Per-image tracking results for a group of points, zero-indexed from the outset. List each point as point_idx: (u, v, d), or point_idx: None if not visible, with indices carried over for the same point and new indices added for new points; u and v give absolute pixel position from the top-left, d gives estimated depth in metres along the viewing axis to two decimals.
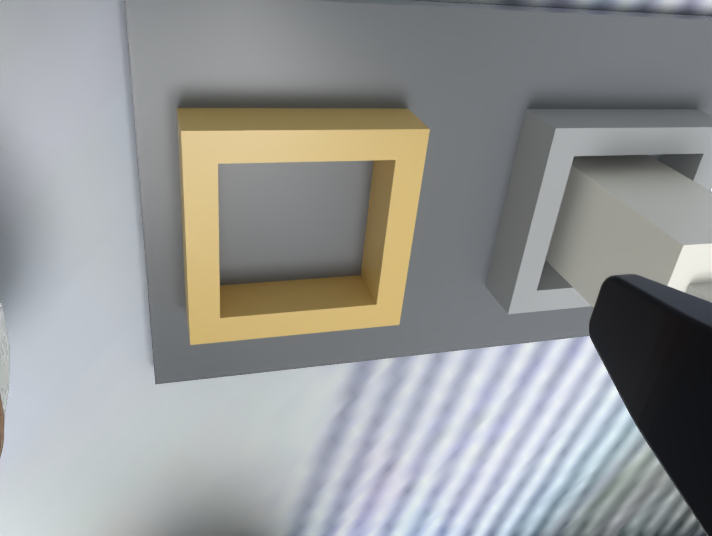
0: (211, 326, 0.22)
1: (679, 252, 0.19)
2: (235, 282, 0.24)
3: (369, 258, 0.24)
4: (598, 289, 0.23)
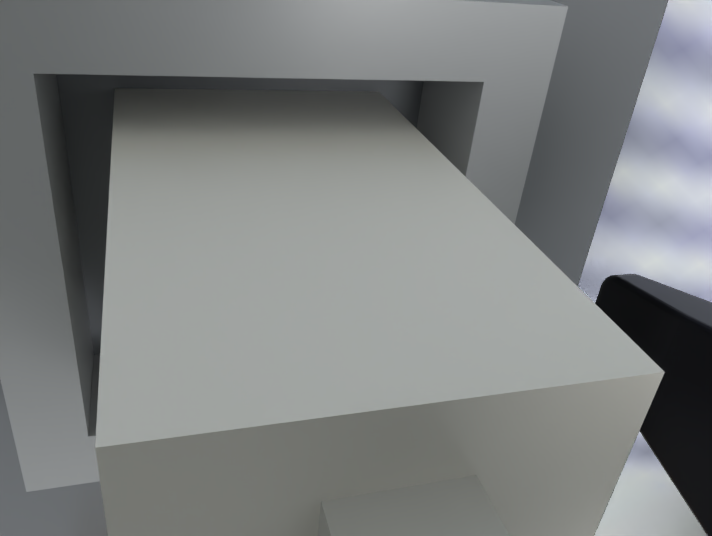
0: None
1: None
2: None
3: None
4: None
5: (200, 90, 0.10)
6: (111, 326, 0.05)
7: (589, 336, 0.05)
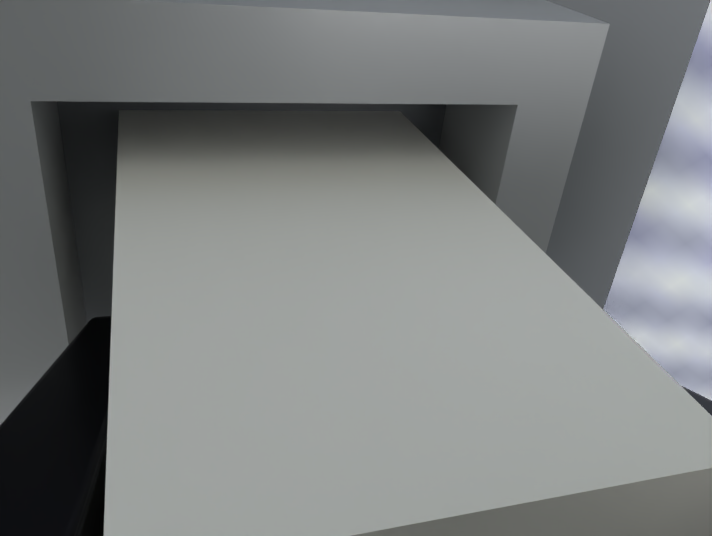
0: None
1: None
2: None
3: None
4: None
5: (211, 111, 0.09)
6: (119, 410, 0.04)
7: (664, 413, 0.05)
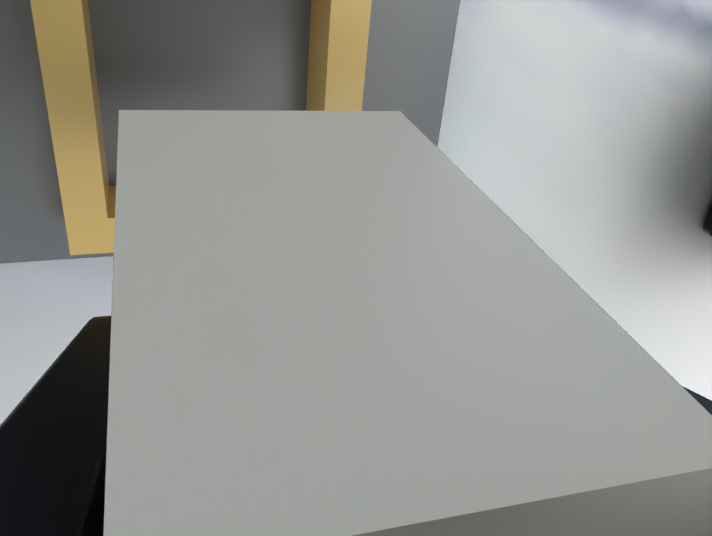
0: None
1: None
2: None
3: None
4: None
5: (210, 111, 0.09)
6: (119, 409, 0.04)
7: (664, 412, 0.05)
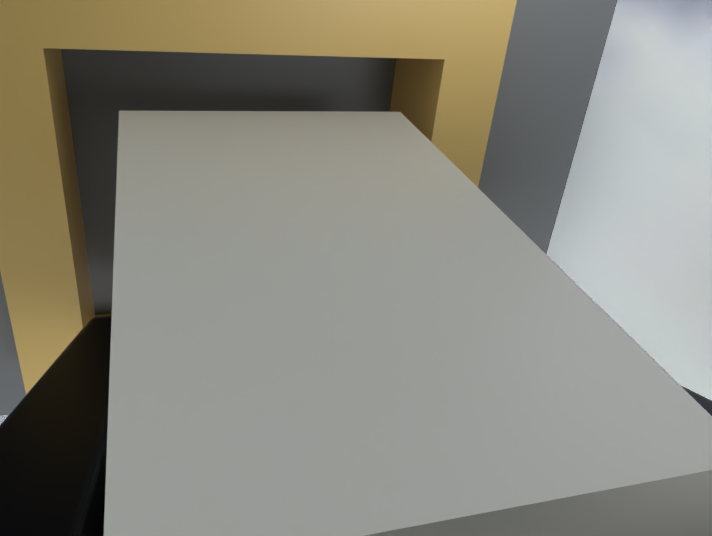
0: None
1: None
2: None
3: None
4: None
5: (210, 112, 0.09)
6: (119, 411, 0.04)
7: (665, 414, 0.05)
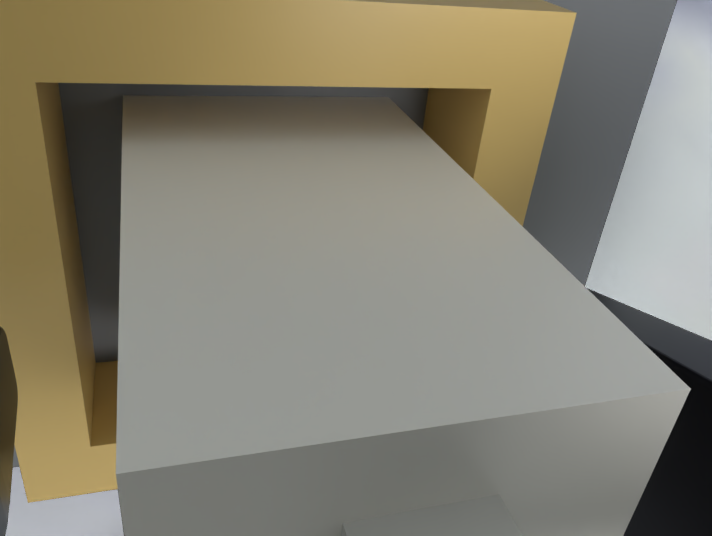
0: None
1: None
2: None
3: None
4: None
5: (209, 96, 0.10)
6: (127, 345, 0.05)
7: (612, 352, 0.05)
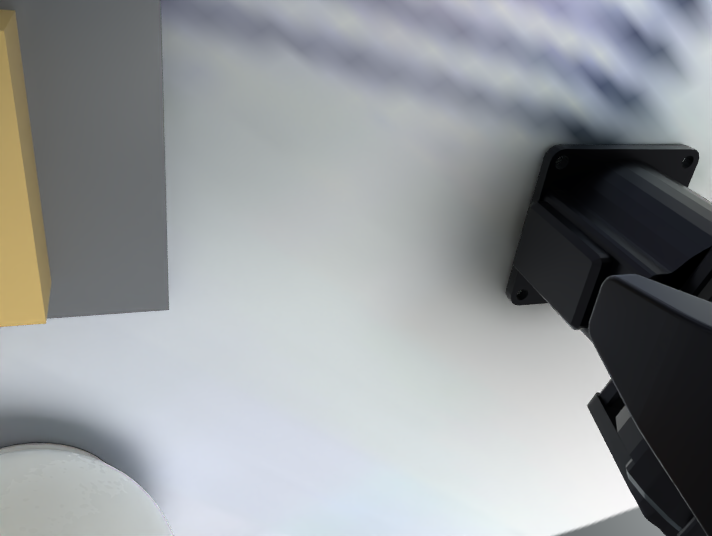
0: (13, 303, 0.17)
1: None
2: None
3: None
4: None
5: None
6: None
7: None
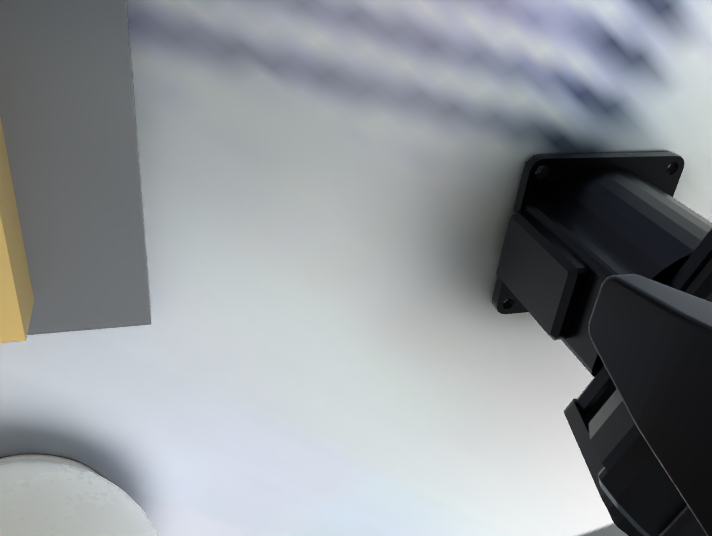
0: None
1: None
2: None
3: None
4: None
5: None
6: None
7: None
